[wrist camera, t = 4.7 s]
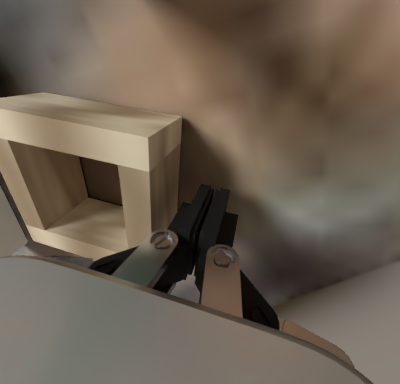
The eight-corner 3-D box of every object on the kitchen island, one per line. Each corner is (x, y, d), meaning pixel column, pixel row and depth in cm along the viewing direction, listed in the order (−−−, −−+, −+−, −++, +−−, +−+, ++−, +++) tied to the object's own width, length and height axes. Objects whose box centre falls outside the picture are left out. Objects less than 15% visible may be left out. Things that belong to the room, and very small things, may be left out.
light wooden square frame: (182, 116, 11) (148, 137, 8) (175, 235, 16) (153, 278, 13) (43, 92, 13) (-33, 102, 10) (76, 207, 18) (33, 240, 14)
